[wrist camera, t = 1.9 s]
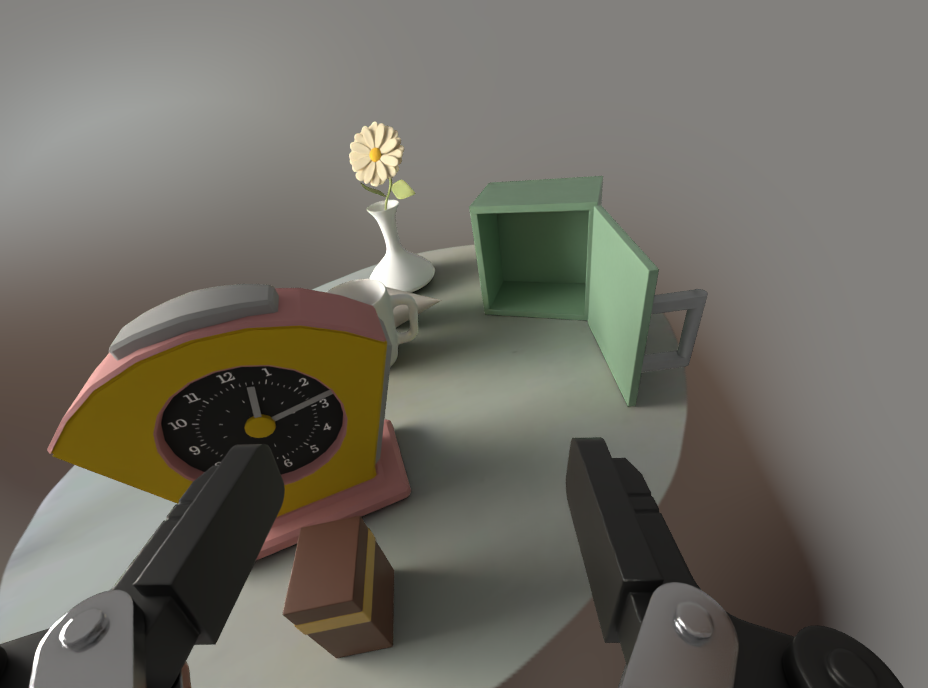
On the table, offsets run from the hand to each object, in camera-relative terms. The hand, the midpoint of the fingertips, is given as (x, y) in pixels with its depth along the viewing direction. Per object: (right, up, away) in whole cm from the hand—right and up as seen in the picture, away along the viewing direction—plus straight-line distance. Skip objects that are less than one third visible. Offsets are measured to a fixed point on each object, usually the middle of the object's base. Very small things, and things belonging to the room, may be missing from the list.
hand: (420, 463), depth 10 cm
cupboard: (+12, +10, +47) cm, 49 cm away
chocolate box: (-6, -16, +18) cm, 25 cm away
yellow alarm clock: (-13, -11, +27) cm, 32 cm away
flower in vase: (-9, +13, +57) cm, 59 cm away
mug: (-9, +1, +42) cm, 43 cm away
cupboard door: (+20, +2, +35) cm, 40 cm away
